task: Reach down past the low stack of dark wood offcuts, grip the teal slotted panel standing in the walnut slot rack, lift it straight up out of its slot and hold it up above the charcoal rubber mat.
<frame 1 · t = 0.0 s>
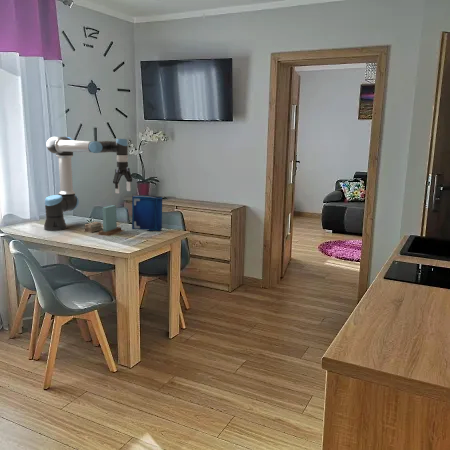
hand: (123, 192, 309), 28 cm above the table, tool pointing down, fingers open, 13 cm apart
slot rack: (110, 233, 306), on the table
offcut stack: (93, 231, 311), on the table
felt mat: (126, 235, 302), on the table
book: (147, 230, 320), on the table
teal slotted panel: (110, 232, 306), point 1 cm above the table, touching slot rack
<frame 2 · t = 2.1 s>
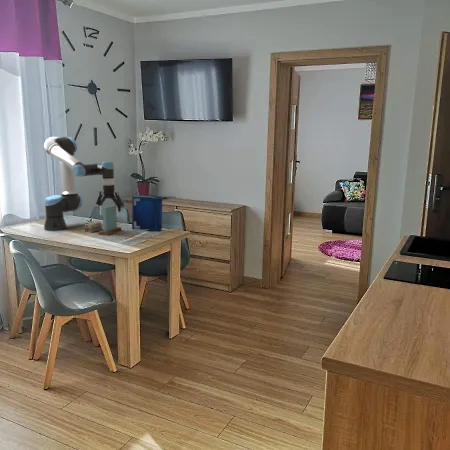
hand: (109, 215, 303), 13 cm above the table, tool pointing down, fingers open, 13 cm apart
nothing on the table moved.
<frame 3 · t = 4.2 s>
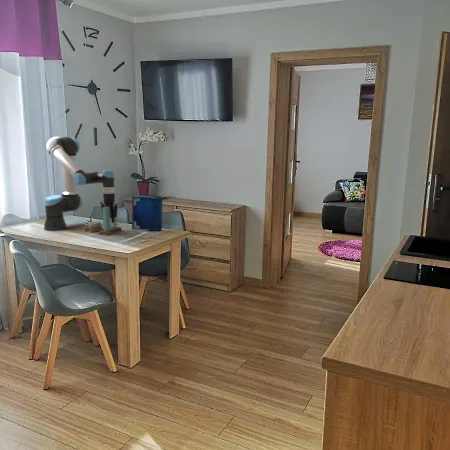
hand: (110, 226, 305), 5 cm above the table, tool pointing down, fingers closed on teal slotted panel, 2 cm apart
teal slotted panel: (110, 232, 306), point 1 cm above the table, touching gripper
everything else where it was.
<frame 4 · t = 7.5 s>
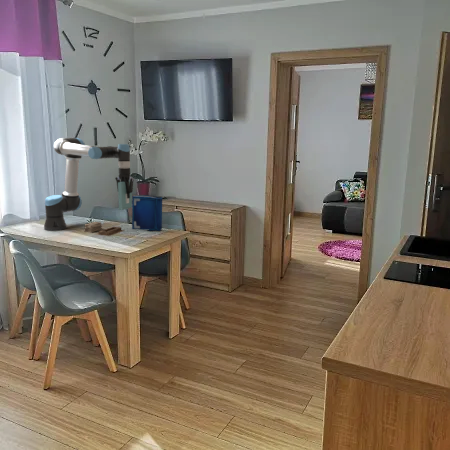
hand: (125, 202, 297), 23 cm above the table, tool pointing down, fingers closed on teal slotted panel, 2 cm apart
teal slotted panel: (125, 208, 298), point 19 cm above the table, touching gripper
everything else where it was.
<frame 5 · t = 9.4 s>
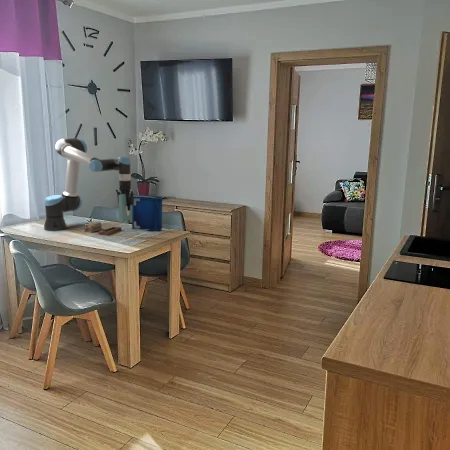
hand: (125, 214, 299), 14 cm above the table, tool pointing down, fingers closed on teal slotted panel, 2 cm apart
teal slotted panel: (126, 220, 300), point 11 cm above the table, touching gripper
everything else where it was.
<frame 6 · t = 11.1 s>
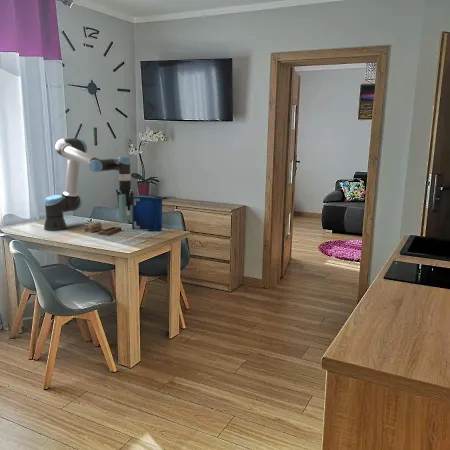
hand: (125, 214, 299), 14 cm above the table, tool pointing down, fingers closed on teal slotted panel, 2 cm apart
teal slotted panel: (126, 220, 300), point 11 cm above the table, touching gripper
everything else where it was.
at the end: the gripper is holding teal slotted panel; teal slotted panel inside the target area (0.0 cm from its centre), point 10.7 cm above the table; teal slotted panel moved 16.1 cm from its start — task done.
